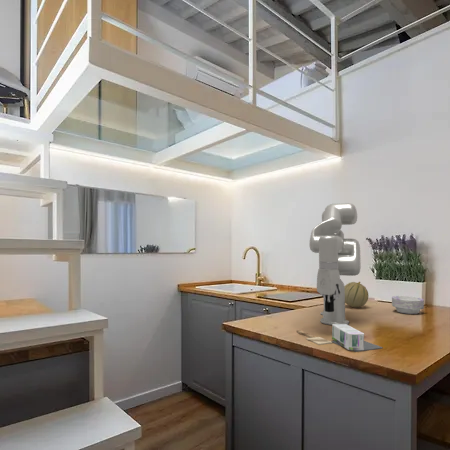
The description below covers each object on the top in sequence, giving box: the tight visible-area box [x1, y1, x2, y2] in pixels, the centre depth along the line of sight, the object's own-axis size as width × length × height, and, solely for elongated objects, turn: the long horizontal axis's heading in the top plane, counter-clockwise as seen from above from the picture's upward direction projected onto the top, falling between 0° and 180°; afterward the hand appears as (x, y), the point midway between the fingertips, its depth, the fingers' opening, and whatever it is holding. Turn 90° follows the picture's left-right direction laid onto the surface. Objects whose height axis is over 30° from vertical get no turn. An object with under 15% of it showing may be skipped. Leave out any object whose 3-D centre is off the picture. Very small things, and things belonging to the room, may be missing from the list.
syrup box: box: [331, 324, 365, 351], centre depth 125 cm, size 6×6×14 cm
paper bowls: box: [391, 295, 425, 315], centre depth 185 cm, size 15×15×8 cm
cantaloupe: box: [344, 281, 369, 309], centre depth 200 cm, size 15×15×15 cm
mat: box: [330, 340, 383, 353], centre depth 125 cm, size 13×12×1 cm
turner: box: [296, 330, 333, 346], centre depth 134 cm, size 18×6×1 cm, turn 21°
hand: (329, 311), depth 140 cm, fingers closed
